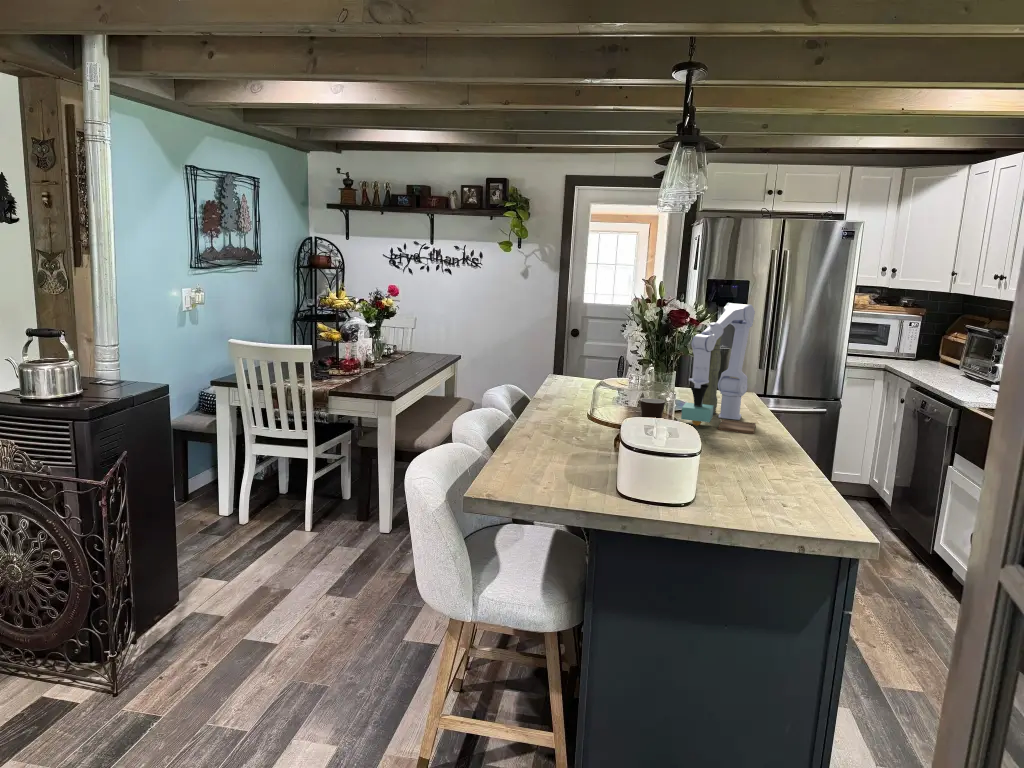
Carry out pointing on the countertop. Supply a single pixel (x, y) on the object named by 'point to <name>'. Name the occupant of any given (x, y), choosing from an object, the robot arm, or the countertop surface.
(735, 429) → the walnut board
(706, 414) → the cover
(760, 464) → the countertop surface
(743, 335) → the robot arm
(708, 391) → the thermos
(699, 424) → the ball
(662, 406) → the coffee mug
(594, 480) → the countertop surface
